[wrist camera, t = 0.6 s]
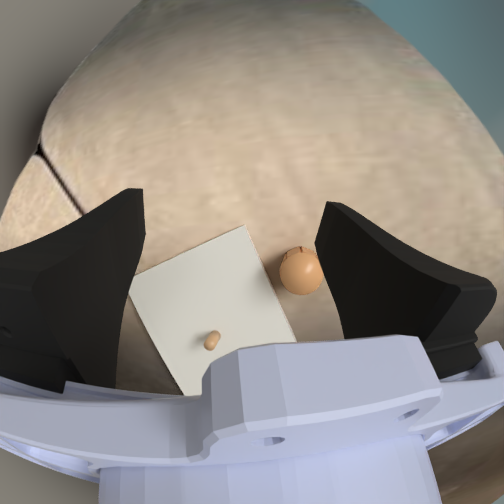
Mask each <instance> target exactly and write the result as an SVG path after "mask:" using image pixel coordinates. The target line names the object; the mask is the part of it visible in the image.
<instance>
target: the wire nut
mask: <svg viewBox="0 0 504 504" xmlns="http://www.w3.org/2000/svg"><path fill="white" fill-rule="evenodd" d="M323 275H324V274H323V271H322V269H321V266H320V263H319V260H318V257H317V255H316V253H314V251H312V250H310V249H307V248H305V247H301V249H300V247H296V248H294V249H292V250H289V251H287V254H286V253H285V256H284V258H283V261H282V263H281V266H280V277H281V281H282V283H283V285H284V287H285V288H286V289H287V290H288V291H290V292H291V293H294V294H297V295H306V294H309V293H312V292H313V291H315V290H316V289H317V288H318V287H319V285H320V284H321V282H322V279H323Z"/></svg>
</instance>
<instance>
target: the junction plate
mask: <svg viewBox="0 0 504 504" xmlns="http://www.w3.org/2000/svg"><path fill="white" fill-rule="evenodd" d="M129 295H130V297H131V299H132V301H133V303H134V306H135V308H136V310H137V312H138V314H139V316H140V318H141V320H142V322H143V323H144V325H145V327H146V329H147V331H148V333H149V335H150V337H151V339H152V341H153V342H154V344H155V346H156V348H157V350H158V351H159V353H160V355H161V357H162V359H163V360H164V362H165V364H166V365H167V367H168V369H169V371H170V372H171V374H172V376H173V377H174V379H175V381H176V382H177V384H178V385H179V387H180V389H181V390H182V392H183V393H184V395H185V396H193V395H201V394H202V377H203V375H204V373H205V372H206V370H207V368H208V367H209V365H210V363H211V362H213V361H214V360H216V359H218V358H220V357H222V356H224V355H226V354H228V353H230V352H232V351H234V350H236V349H238V348H241V347H248V346H255V345H261V344H267V343H282V342H297V341H296V338H295V336H294V334H293V331H292V329H291V327H290V325H289V322H288V320H287V318H286V316H285V313H284V311H283V309H282V307H281V304H280V302H279V300H278V298H277V295H276V293H275V291H274V288H273V286H272V284H271V282H270V279H269V277H268V275H267V273H266V270H265V268H264V266H263V264H262V261H261V259H260V257H259V255H258V252H257V250H256V248H255V246H254V243H253V241H252V239H251V237H250V235H249V232H248V230H247V228H246V226H245V225H243V226H241V227H239V228H237V229H234V230H232V231H230V232H228V233H225V234H223V235H221V236H219V237H217V238H215V239H212V240H210V241H208V242H206V243H204V244H201V245H199V246H197V247H195V248H193V249H191V250H189V251H186V252H184V253H182V254H180V255H178V256H176V257H174V258H171V259H169V260H167V261H165V262H163V263H161V264H159V265H157V266H155V267H153V268H150V269H148V270H146V271H144V272H142V273H140V274H138V275H136V276H134V277H133V280H132V283H131V286H130V289H129Z"/></svg>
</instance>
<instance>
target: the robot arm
mask: <svg viewBox="0 0 504 504" xmlns="http://www.w3.org/2000/svg"><path fill="white" fill-rule="evenodd" d="M145 235H146V232H145V219H144V203H143V189H135V188H128V189H125V190H123V191H121V192H120V193H118V194H117V195H115V196H113V197H112V198H110V199H109V200H107V201H106V202H104V203H103V204H101V205H100V206H98V207H97V208H95V209H93V210H92V211H90V212H89V213H87V214H85V215H84V216H82V217H81V218H79V219H77V220H76V221H74V222H72V223H70V224H68V225H66V226H65V227H63V228H61V229H59V230H57V231H55V232H53V233H50V234H48V235H46V236H44V237H41V238H39V239H37V240H35V241H32V242H30V243H27V244H24V245H22V246H19V247H16V248H13V249H10V250H7V251H4V252H0V447H1V448H3V449H5V450H7V451H9V452H11V453H13V454H15V455H18V456H20V457H22V458H25V459H27V460H29V461H32V462H34V463H37V464H39V465H42V466H44V467H47V468H50V469H53V470H55V471H58V472H61V473H64V474H67V475H71V476H74V477H77V478H81V479H85V480H88V481H92V482H95V483H99V504H442V501H441V498H440V494H439V490H438V486H437V483H436V479H435V476H434V472H433V469H432V466H431V462H430V459H429V456H428V453H427V450H429V449H431V448H433V447H436V446H438V445H440V444H442V443H444V442H446V441H448V440H449V439H451V438H453V437H455V436H457V435H459V434H461V433H463V432H464V431H466V430H468V429H470V428H472V427H473V426H475V425H477V424H479V423H480V422H482V421H483V420H485V419H486V418H488V417H489V416H490V415H492V414H493V413H494V412H496V411H497V410H498V409H499V408H501V407H502V406H503V405H504V351H503V349H502V348H501V346H500V344H499V342H498V341H494V342H491V343H488V344H485V345H483V346H481V347H480V348H478V349H477V348H476V346H475V344H474V343H475V342H476V341H477V340H478V337H477V335H476V334H475V330H476V329H477V328H478V327H479V325H480V324H481V323H482V322H483V320H484V319H485V318H486V316H487V315H488V314H489V312H490V311H491V309H492V308H493V305H494V303H495V301H496V297H497V290H496V288H495V287H494V286H493V284H492V283H491V282H490V281H489V280H488V279H486V278H484V277H481V276H478V275H475V274H472V273H469V272H465V271H463V270H460V269H457V268H455V267H452V266H450V265H447V264H445V263H443V262H440V261H438V260H436V259H434V258H432V257H430V256H428V255H425V254H423V253H422V252H420V251H418V250H416V249H414V248H412V247H411V246H409V245H407V244H405V243H403V242H402V241H400V240H398V239H397V238H395V237H394V236H392V235H391V234H389V233H388V232H386V231H384V230H383V229H381V228H380V227H378V226H377V225H375V224H374V223H373V222H371V221H370V220H368V219H367V218H365V217H364V216H362V215H361V214H359V213H358V212H356V211H355V210H353V209H351V208H350V207H348V206H346V205H344V204H342V203H337V202H329V201H327V202H326V205H325V209H324V212H323V216H322V219H321V223H320V226H319V230H318V233H317V236H316V240H315V247H316V252H317V256H318V260H319V263H320V266H321V269H322V271H323V274H324V276H325V279H326V281H327V284H328V286H329V289H330V291H331V294H332V296H333V299H334V301H335V304H336V307H337V310H338V313H339V317H340V321H341V325H342V329H343V334H344V339H342V340H328V341H309V342H282V343H267V344H261V345H255V346H248V347H241V348H238V349H236V350H234V351H232V352H230V353H228V354H226V355H224V356H222V357H220V358H218V359H216V360H214V361H213V362H211V363H210V365H209V367H208V368H207V370H206V372H205V373H204V375H203V377H202V394H201V395H193V396H183V395H166V394H154V393H143V392H134V391H126V390H118V389H115V384H116V366H117V353H118V345H119V337H120V329H121V323H122V317H123V311H124V307H125V303H126V299H127V296H128V293H129V289H130V286H131V283H132V280H133V277H134V275H135V272H136V269H137V266H138V263H139V260H140V257H141V254H142V249H143V245H144V240H145Z"/></svg>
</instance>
